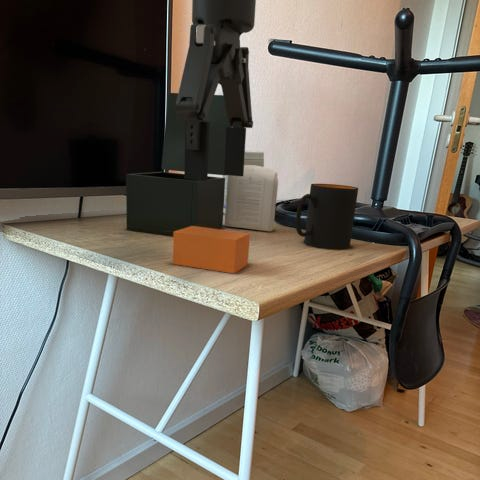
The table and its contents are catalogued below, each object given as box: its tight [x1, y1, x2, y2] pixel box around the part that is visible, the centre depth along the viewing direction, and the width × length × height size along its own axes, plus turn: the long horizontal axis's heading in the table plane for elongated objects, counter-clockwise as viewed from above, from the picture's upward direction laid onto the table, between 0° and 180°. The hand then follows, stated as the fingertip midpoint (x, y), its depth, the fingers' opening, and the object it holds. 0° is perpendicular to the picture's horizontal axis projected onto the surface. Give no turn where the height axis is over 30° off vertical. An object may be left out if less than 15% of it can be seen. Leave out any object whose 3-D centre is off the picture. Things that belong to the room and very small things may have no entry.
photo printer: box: [224, 165, 279, 233], centre depth 97 cm, size 10×4×12 cm, turn 75°
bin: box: [125, 171, 225, 237], centre depth 91 cm, size 14×14×10 cm
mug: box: [295, 183, 359, 250], centre depth 86 cm, size 8×12×10 cm
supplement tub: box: [222, 149, 265, 215], centre depth 115 cm, size 10×10×15 cm
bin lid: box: [160, 92, 230, 176], centre depth 94 cm, size 14×14×1 cm
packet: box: [172, 226, 251, 274], centre depth 68 cm, size 6×9×4 cm, turn 71°
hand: (216, 177), depth 64 cm, fingers open, 13 cm apart
